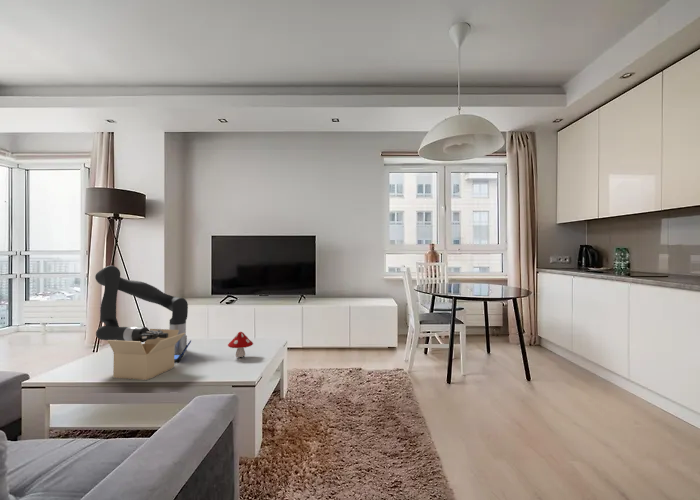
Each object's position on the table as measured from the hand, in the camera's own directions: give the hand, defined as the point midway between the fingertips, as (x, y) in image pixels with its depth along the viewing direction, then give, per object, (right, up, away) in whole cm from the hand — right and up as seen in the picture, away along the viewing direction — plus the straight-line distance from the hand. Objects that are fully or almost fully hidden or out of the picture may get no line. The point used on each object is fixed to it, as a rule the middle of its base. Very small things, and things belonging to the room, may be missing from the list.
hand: (167, 335), depth 181 cm
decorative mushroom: (+28, -20, +29) cm, 45 cm away
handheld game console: (-8, -20, +26) cm, 34 cm away
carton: (-12, -19, +1) cm, 22 cm away
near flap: (0, -3, 0) cm, 3 cm away
